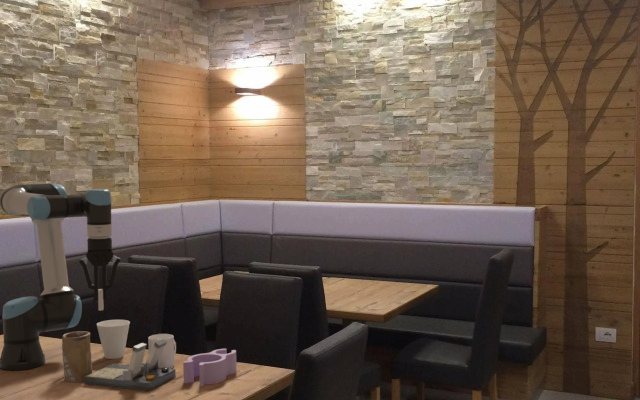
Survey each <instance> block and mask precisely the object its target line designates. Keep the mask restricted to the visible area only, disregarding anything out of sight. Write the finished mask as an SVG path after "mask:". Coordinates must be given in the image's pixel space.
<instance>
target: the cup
mask: <svg viewBox="0 0 640 400" xmlns="http://www.w3.org/2000/svg"><path fill="white" fill-rule="evenodd" d="M130 324H131V321H129V320H128V319H127V320H126V319H109V320H108V319H107V320H102V321H100V322H97V323H96V327H97V331H98V335H99V339H100V344H101V348H102V352H103V357H104V358H105V359H108V360H113V359H114V360H115V359H121V358H123V357H124V356H125V351H126V346H127V339H128V335H129V334H128V333H129V328H130Z"/></svg>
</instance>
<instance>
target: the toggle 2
mask: <svg viewBox="0 0 640 400" xmlns="http://www.w3.org/2000/svg"><path fill="white" fill-rule="evenodd" d="M166 343H167V341H166V340H164V339H162V340H160V341H158V342H155V344H154V346H153V348H152V350H151V352H150V354H149V353H148V356H147V358H146V360H145V362H144V363H148V365H149V369H151V368H153V367H155V366H156V363H157V361H158V359H159V357H160V355H161V353H162V351H163V349H164V347H165V345H166Z"/></svg>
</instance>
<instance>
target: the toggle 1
mask: <svg viewBox="0 0 640 400" xmlns="http://www.w3.org/2000/svg"><path fill="white" fill-rule="evenodd" d="M146 349H147V343H144V342H141V343H138V344H136V345H134V346H133V347H132V352H131V356H130V361H129V364H128V365H129V369H128V370H130V371H133V377H135V376H137V375H139V374H140V373H141V367H142V363H144V359H145V358H144V357H145V353H146Z"/></svg>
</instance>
